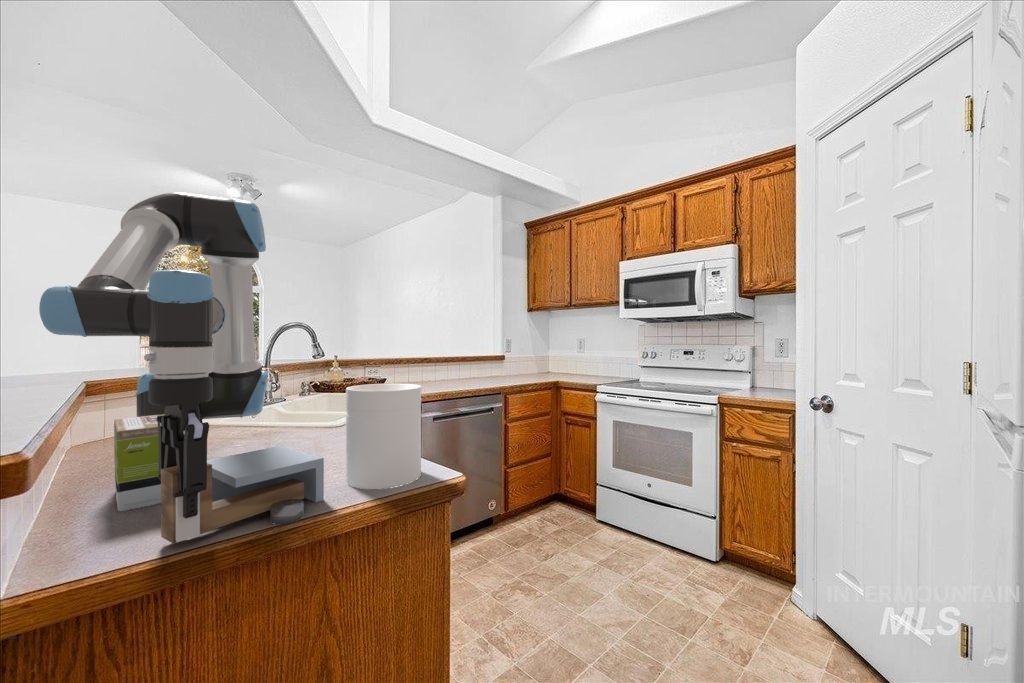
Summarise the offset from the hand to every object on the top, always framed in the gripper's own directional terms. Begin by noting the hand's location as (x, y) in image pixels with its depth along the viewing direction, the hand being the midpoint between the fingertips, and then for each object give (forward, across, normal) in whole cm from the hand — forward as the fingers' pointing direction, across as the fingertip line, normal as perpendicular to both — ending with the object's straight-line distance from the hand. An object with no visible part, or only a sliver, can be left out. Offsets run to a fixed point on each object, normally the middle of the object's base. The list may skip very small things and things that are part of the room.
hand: (181, 533), depth 63 cm
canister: (+2, -1, +38) cm, 38 cm away
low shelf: (+2, -7, +14) cm, 16 cm away
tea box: (+2, -29, +4) cm, 30 cm away
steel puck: (+2, +3, +14) cm, 14 cm away
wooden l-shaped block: (0, -1, +8) cm, 8 cm away
